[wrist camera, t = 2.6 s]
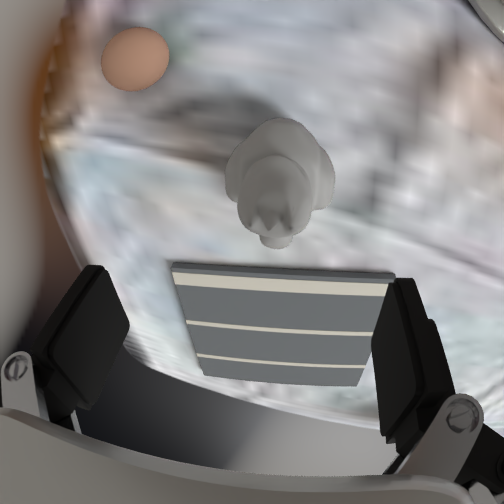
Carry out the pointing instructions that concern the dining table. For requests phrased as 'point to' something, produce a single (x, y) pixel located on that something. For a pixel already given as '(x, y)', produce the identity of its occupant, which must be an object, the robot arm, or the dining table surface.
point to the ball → (135, 59)
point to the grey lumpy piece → (279, 180)
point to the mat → (281, 322)
